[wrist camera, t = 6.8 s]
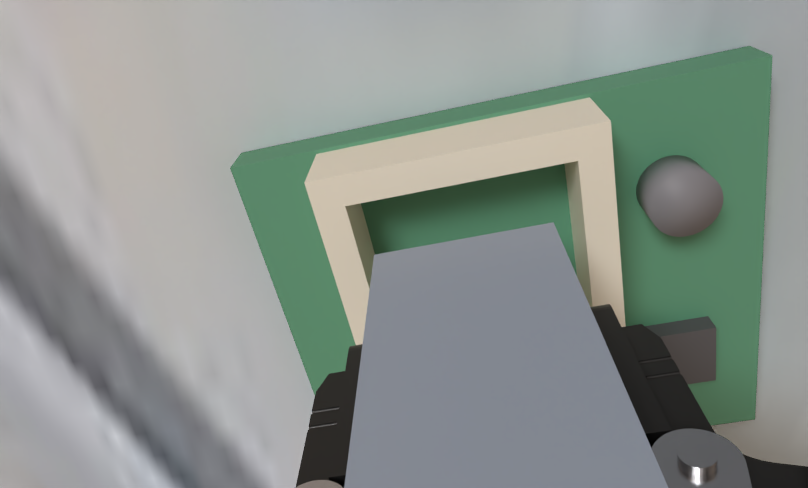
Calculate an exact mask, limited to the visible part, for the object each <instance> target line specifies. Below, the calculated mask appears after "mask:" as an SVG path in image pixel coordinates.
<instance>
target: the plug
mask: <svg viewBox="0 0 808 488" xmlns="http://www.w3.org/2000/svg"><path fill="white" fill-rule="evenodd" d="M344 488H668V485H667V483H666V481H665V478H664V476H663V474H662V472H661V469H660V467H659V465H658V462H657V460H656V458H655V455H654V453H653V451H652V448H651V446H650V444H649V442H648V439H647V437H646V435H645V432H644V430H643V428H642V425H641V423H640V421H639V418H638V416H637V414H636V412H635V409H634V407H633V405H632V402H631V400H630V398H629V395H628V393H627V391H626V388H625V386H624V384H623V382H622V379H621V377H620V375H619V372H618V370H617V368H616V365H615V363H614V361H613V358H612V356H611V354H610V352H609V349H608V347H607V345H606V342H605V340H604V338H603V335H602V333H601V331H600V328H599V326H598V324H597V321H596V319H595V317H594V315H593V312H592V310H591V308H590V305H589V303H588V301H587V298H586V296H585V294H584V291H583V289H582V287H581V285H580V282H579V280H578V278H577V275H576V273H575V271H574V268H573V266H572V264H571V261H570V259H569V257H568V255H567V252H566V250H565V248H564V245H563V243H562V241H561V238H560V236H559V234H558V231H557V229H556V227H555V225H554V222H552V223H547V224H541V225H536V226H530V227H525V228H519V229H514V230H508V231H502V232H497V233H491V234H486V235H480V236H475V237H469V238H464V239H458V240H453V241H447V242H442V243H436V244H431V245H425V246H420V247H414V248H409V249H403V250H398V251H392V252H387V253H381V254H376V255H374V259H373V267H372V275H371V283H370V290H369V298H368V306H367V314H366V321H365V329H364V337H363V345H362V353H361V360H360V368H359V376H358V384H357V392H356V399H355V407H354V415H353V423H352V430H351V438H350V446H349V454H348V462H347V469H346V477H345V485H344Z"/></svg>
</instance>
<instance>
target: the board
mask: <svg viewBox="0 0 808 488" xmlns="http://www.w3.org/2000/svg"><path fill="white" fill-rule="evenodd" d="M771 73H772V55H770V54H768V53H765V52H763V51H760V50H758V49H756V48H753V47H751V46H747V47H742V48H738V49H733V50H728V51H723V52H719V53H714V54H709V55H704V56H700V57H695V58H690V59H685V60H681V61H676V62H671V63H666V64H662V65H657V66H652V67H647V68H643V69H638V70H633V71H628V72H624V73H619V74H614V75H609V76H605V77H600V78H595V79H590V80H586V81H581V82H576V83H571V84H567V85H562V86H557V87H552V88H548V89H543V90H538V91H533V92H529V93H524V94H519V95H514V96H510V97H505V98H500V99H495V100H491V101H486V102H481V103H476V104H472V105H467V106H462V107H457V108H453V109H448V110H443V111H438V112H434V113H429V114H424V115H419V116H415V117H410V118H405V119H400V120H396V121H391V122H386V123H381V124H377V125H372V126H367V127H362V128H358V129H353V130H348V131H343V132H339V133H334V134H329V135H324V136H320V137H315V138H310V139H305V140H301V141H296V142H291V143H286V144H282V145H277V146H272V147H267V148H263V149H258V150H253V151H248V152H244V153H241V154H240V156H239V157H238V158H237V160H236V161H235V162H234V164H233V165H232V166H231V168H230V169H231V171H232V174H233V177H234V179H235V182H236V185H237V188H238V190H239V193H240V196H241V198H242V201H243V204H244V206H245V209H246V212H247V214H248V217H249V220H250V222H251V225H252V228H253V230H254V233H255V236H256V239H257V241H258V244H259V247H260V249H261V252H262V255H263V257H264V260H265V263H266V265H267V268H268V271H269V273H270V276H271V279H272V282H273V284H274V287H275V290H276V292H277V295H278V298H279V300H280V303H281V306H282V308H283V311H284V314H285V316H286V319H287V322H288V324H289V327H290V330H291V333H292V335H293V338H294V341H295V343H296V346H297V349H298V351H299V354H300V357H301V359H302V362H303V365H304V367H305V370H306V373H307V376H308V378H309V381H310V384H311V386H312V389H313V392H314V394H316V391H317V390H318V388H319V387H320V385H321V384H322V383H323V381H324V380H325V378H326V377H327V376H328V374H330V373H336V372H342V371H345V369H346V362H347V356H348V350H349V347H350V346H354V345H360V344H363V337H364V329H365V321H366V314H367V306H368V298H369V290H370V283H371V275H372V267H373V259H374V255H376V254H381V253H387V252H392V251H398V250H403V249H409V248H414V247H420V246H425V245H431V244H436V243H442V242H447V241H453V240H458V239H464V238H469V237H475V236H480V235H486V234H491V233H497V232H502V231H508V230H514V229H519V228H525V227H530V226H536V225H541V224H547V223H552V222H554V225H555V227H556V229H557V231H558V234H559V236H560V238H561V241H562V243H563V245H564V248H565V250H566V252H567V255H568V257H569V259H570V261H571V264H572V266H573V268H574V271H575V273H576V275H577V278H578V280H579V282H580V285H581V287H582V289H583V291H584V294H585V296H586V298H587V301H588V303H589V305H590V307H594V306H600V305H606V304H610V305H611V307H612V308H613V311H614V313H615V315H616V317H617V319H618V321H619V323H620V325H621V327H626V326H632V325H638V324H642V325H644V326H645V327H647V328H648V329H649V330H651V331H652V332H654V333H655V334H656V335H658V336H659V337H661V339H662V340H663V342H664V344H665V346H666V347H667V349H668V351H669V353H670V355H671V357H672V360H674V362H675V363H676V365H677V367H678V369H679V370H680V374H681V375H682V376H683V377H684V379H685V381H686V383H687V385H688V386H689V388H690V390H691V392H692V393H693V395H694V397H695V399H696V400H697V402H698V404H699V406H700V408H701V409H702V411H703V413H704V415H705V416H706V418H707V420H708V422H709V423H710V425H718V424H725V423H732V422H739V421H747V420H754V419H755V408H756V387H757V366H758V345H759V324H760V303H761V282H762V261H763V240H764V219H765V199H766V178H767V157H768V136H769V115H770V94H771Z"/></svg>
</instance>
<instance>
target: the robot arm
mask: <svg viewBox="0 0 808 488" xmlns="http://www.w3.org/2000/svg"><path fill="white" fill-rule="evenodd" d="M590 308H591V310H592V312H593V315H594V317H595V319H596V321H597V324H598V326H599V328H600V331H601V333H602V335H603V338H604V340H605V342H606V345H607V347H608V349H609V352H610V354H611V356H612V358H613V361H614V363H615V365H616V368H617V370H618V372H619V375H620V377H621V379H622V382H623V384H624V386H625V388H626V391H627V393H628V395H629V398H630V400H631V402H632V405H633V407H634V409H635V412H636V414H637V416H638V418H639V421H640V423H641V425H642V428H643V430H644V432H645V435H646V437H647V439H648V442H649V444H650V446H651V448H652V451H653V453H654V455H655V458H656V460H657V462H658V465H659V467H660V469H661V472H662V474H663V476H664V478H665V481H666V483H667V485H668V488H808V467H805V466H796V465H788V464H779V463H772V462H766V461H761V460H757V459H754V458H751V457H748V456H746V455H744V454H742V453H741V451H740V450H739V449H738V448H737V447H736V446H735V445H734V444H733V443H732V442H730V441H729V440H727V439H726V438H724V437H722V436H720V435H718V434H716V433H715V432H714V430H713V429H712V427H711V425H710V423H709V422H708V420H707V418H706V416H705V415H704V413H703V411H702V409H701V408H700V406H699V404H698V402H697V400H696V399H695V397H694V395H693V393H692V392H691V390H690V388H689V386H688V385H687V383H686V381H685V379H684V377H683V376H682V375H681V374H680V370H679V369H678V367H677V365H676V363H675V362H674V360H672V357H671V355H670V353H669V351H668V349H667V347H666V346H665V344H664V342H663V340H662V339H661V337H659V336H658V335H656V334H655V333H654V332H652V331H651V330H649V329H648V328H647V327H645V326H644V325H642V324H638V325H632V326H626V327H621V325H620V323H619V321H618V319H617V317H616V315H615V313H614V311H613V308H612V307H611V305H610V304H606V305H600V306H594V307H590ZM362 345H363V344H360V345H354V346H350V347H349V350H348V356H347V362H346V369H345V371H342V372H336V373H330V374H328V376H327V377H326V378H325V380H324V381H323V383H322V384H321V385H320V387H319V388H318V390H317V391H316V394H315V399H314V404H313V408H312V414H311V418H310V423H309V430H308V432H307V437H306V441H305V446H304V451H303V456H302V460H301V465H300V470H299V475H298V479H297V484H296V488H344V485H345V477H346V469H347V462H348V454H349V446H350V438H351V430H352V423H353V415H354V407H355V399H356V392H357V384H358V376H359V368H360V360H361V353H362Z"/></svg>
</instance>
